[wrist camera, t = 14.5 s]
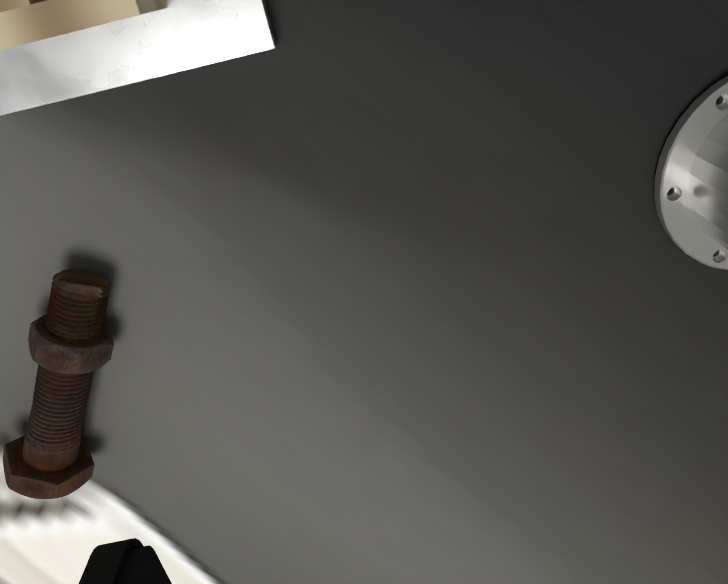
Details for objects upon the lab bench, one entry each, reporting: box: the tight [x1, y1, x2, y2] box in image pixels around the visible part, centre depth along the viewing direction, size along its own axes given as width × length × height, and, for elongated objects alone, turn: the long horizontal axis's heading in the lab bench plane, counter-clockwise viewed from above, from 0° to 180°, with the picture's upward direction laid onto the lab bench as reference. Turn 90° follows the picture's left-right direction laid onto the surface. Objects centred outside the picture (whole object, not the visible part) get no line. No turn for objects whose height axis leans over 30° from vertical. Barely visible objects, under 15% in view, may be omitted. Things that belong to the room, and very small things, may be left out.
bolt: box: [3, 270, 114, 499], centre depth 41 cm, size 6×5×15 cm
